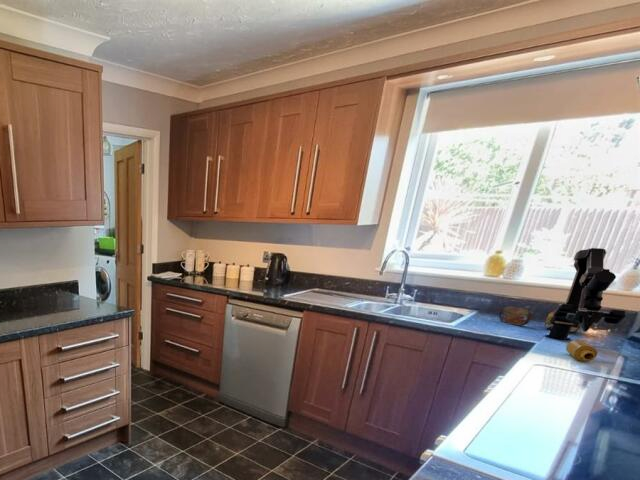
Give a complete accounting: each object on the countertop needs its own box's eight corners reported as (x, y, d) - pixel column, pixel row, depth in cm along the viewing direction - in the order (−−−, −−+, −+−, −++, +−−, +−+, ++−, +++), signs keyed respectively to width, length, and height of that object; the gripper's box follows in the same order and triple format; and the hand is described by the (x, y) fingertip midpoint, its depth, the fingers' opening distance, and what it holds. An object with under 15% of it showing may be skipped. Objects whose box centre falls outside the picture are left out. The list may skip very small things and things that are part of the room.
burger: (565, 328, 215) (573, 308, 211) (587, 335, 202) (596, 314, 199) (535, 326, 217) (543, 306, 213) (555, 332, 204) (564, 312, 201)
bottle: (581, 336, 166) (594, 345, 154) (591, 349, 165) (605, 358, 154) (562, 345, 170) (573, 354, 158) (571, 357, 169) (583, 367, 157)
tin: (496, 320, 227) (502, 304, 224) (501, 320, 227) (507, 304, 224) (523, 327, 213) (530, 310, 210) (529, 327, 213) (535, 310, 210)
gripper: (613, 314, 169) (608, 346, 165) (550, 307, 179) (544, 337, 175) (629, 297, 160) (624, 331, 156) (562, 290, 170) (556, 322, 166)
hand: (585, 331), depth 163 cm, fingers closed
